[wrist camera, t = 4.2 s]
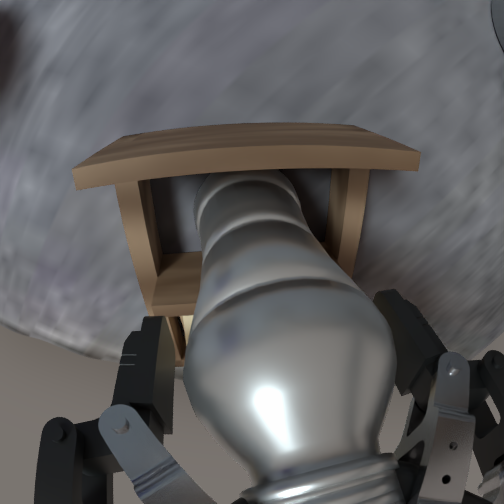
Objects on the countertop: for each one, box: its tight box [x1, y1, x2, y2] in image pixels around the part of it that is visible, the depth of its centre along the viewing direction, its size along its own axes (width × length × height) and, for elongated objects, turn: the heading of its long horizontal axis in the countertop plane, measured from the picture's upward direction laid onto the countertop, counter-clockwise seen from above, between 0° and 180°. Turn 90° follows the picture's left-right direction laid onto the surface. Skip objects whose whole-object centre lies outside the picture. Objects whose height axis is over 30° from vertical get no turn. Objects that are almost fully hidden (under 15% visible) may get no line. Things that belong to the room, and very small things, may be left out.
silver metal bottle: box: [183, 169, 406, 504], centre depth 12 cm, size 6×7×20 cm
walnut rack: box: [72, 123, 421, 367], centre depth 20 cm, size 20×16×8 cm
